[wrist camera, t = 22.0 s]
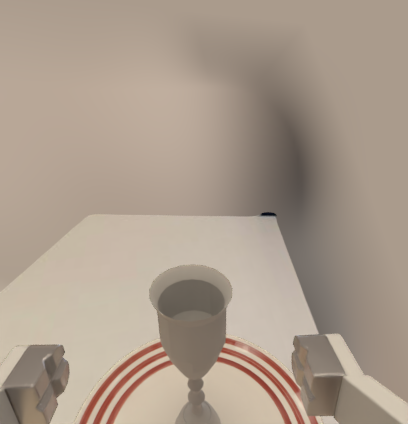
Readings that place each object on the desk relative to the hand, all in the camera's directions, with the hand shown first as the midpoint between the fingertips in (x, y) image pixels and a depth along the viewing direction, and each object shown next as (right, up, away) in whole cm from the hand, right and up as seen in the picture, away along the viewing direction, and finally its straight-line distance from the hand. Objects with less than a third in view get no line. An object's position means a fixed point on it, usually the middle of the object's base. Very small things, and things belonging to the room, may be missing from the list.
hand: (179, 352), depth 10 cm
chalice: (0, -18, +21) cm, 27 cm away
